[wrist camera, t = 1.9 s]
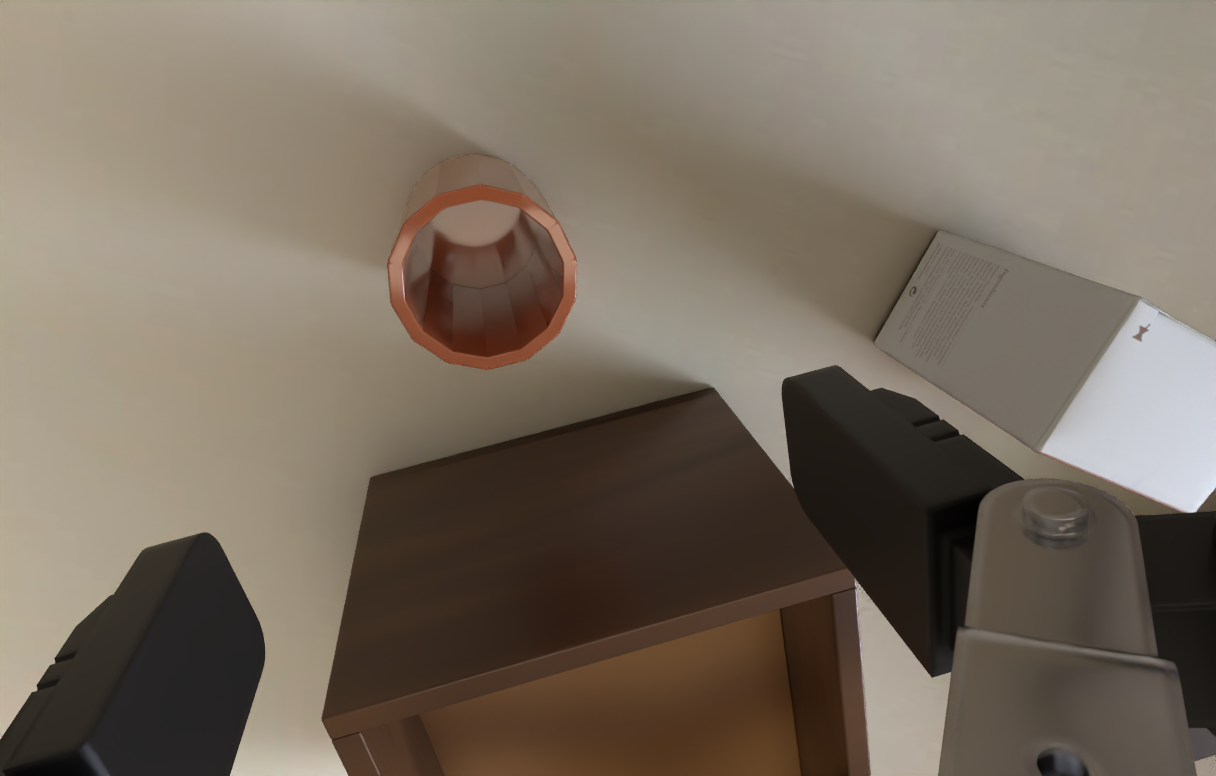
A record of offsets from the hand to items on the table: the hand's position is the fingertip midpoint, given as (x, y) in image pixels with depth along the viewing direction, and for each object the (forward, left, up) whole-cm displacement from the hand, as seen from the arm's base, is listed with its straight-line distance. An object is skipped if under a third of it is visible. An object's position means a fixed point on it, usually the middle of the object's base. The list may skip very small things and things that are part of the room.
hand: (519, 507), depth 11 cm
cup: (0, 0, -20) cm, 20 cm away
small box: (+9, +20, -20) cm, 30 cm away
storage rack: (+17, 0, -20) cm, 26 cm away
